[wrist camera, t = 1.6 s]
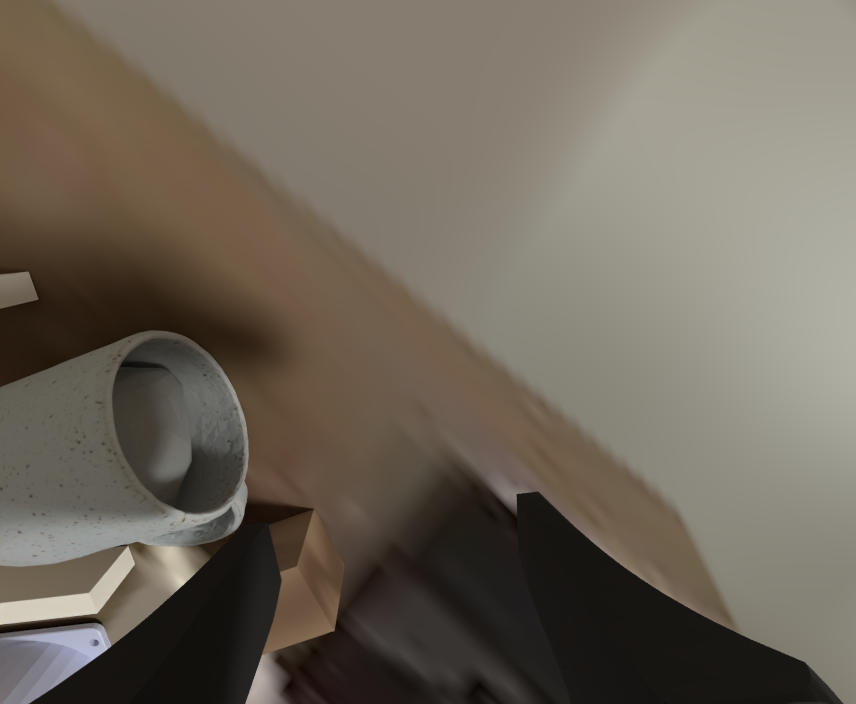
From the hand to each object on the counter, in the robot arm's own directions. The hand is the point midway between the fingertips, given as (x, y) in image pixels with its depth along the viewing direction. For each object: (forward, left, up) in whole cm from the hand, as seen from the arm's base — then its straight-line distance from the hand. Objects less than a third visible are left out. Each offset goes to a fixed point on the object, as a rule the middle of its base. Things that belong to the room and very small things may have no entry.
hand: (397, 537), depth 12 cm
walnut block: (-8, +7, -10) cm, 14 cm away
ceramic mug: (0, +11, -10) cm, 15 cm away
